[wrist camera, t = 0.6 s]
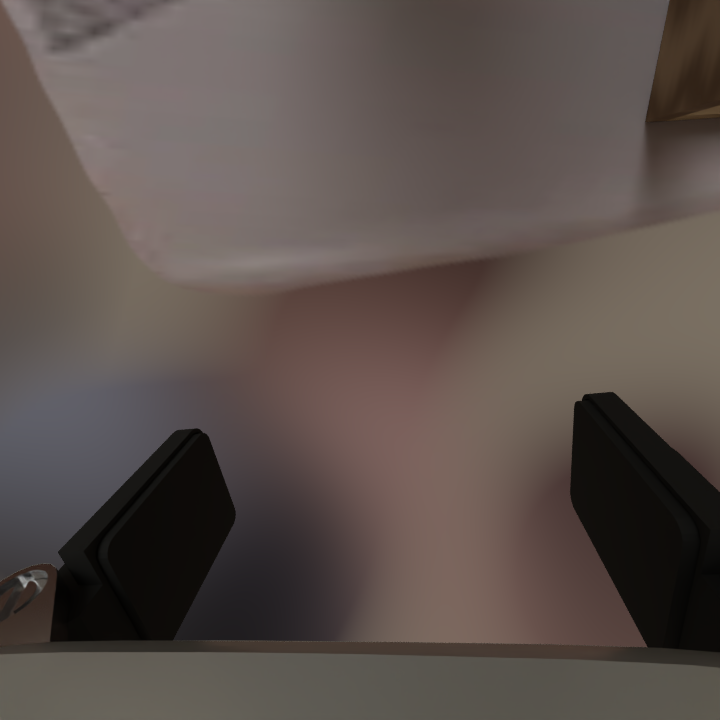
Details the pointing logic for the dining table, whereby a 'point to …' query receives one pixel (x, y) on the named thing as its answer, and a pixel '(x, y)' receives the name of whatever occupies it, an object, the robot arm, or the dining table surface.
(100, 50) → the dining table surface
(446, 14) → the dining table surface
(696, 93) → the cleat board
